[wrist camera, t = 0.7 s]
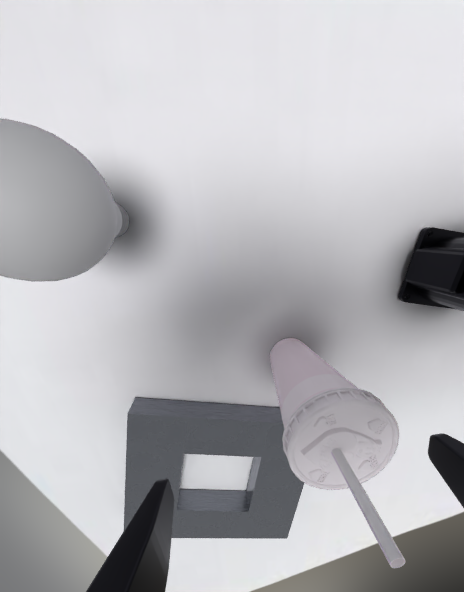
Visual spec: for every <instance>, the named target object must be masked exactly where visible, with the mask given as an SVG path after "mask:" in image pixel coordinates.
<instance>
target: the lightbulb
mask: <svg viewBox="0 0 464 592" xmlns="http://www.w3.org/2000/svg"><path fill="white" fill-rule="evenodd" d="M128 226H129V217H128V214H127V212H126V211H125V209H124V208H123V207H122V206H121V205H119V204H118V203H116V202H114V199H113V196H112V193H111V191H110V189H109V187H108V185H107V183H106V181H105V180H104V178H103V177H102V176H101V174H100V173H99V172H98V171H97V169H96V168H95V167H94V166H93V164H92V163H91V162H90V161H89V160H88V159H87V158H86V157H85V156H84V155H83V154H82V153H81V152H79V151H78V150H77V149H76V148H74V147H73V146H71V145H70V144H68V143H67V142H65V141H64V140H62V139H61V138H59V137H57V136H56V135H54V134H52V133H50V132H48V131H45V130H43V129H41V128H38V127H36V126H33V125H29V124H26V123H22V122H18V121H13V120H9V119H0V275H1V276H4V277H7V278H13V279H19V280H26V281H58V280H62V279H67V278H71V277H74V276H77V275H79V274H81V273H84V272H86V271H88V270H89V269H90V268H92V267H93V266H94V265H96V264H97V263H98V262H99V261H100V260H102V258H103V257H104V256H105V255H106V254H107V252H108V251H109V250H110V248H111V246H112V244H113V242H114V238H115V237H118V236H121V235H123V234H124V233H125V232H126V231H127V229H128Z"/></svg>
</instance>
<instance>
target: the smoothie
mask: <svg viewBox="0 0 464 592" xmlns="http://www.w3.org/2000/svg"><path fill="white" fill-rule="evenodd" d="M270 363H271V367H272V372H273V377H274V382H275V387H276V391H277V396H278V401H279V406H280V411H281V415H282V421H283V425H284V433H283V437H282V441H283V450H284V452H285V454H286V456H287V459H288V462H289V465H290V468H291V470H292V471H293V473H294V474H295V475H296V476H297V477H298V478H299V479H300V480H301V481H303V482H304V483H306V484H308V485H310V486H313V487H316V488H319V489H326V490H339V489H345V488H350V490H351V492H352V494H353V496H354V498H355V500H356V501H357V503H358V505H359V507H360V509H361V511H362V513H363V515H364V517H365V518H366V520H367V522H368V524H369V526H370V528H371V530H372V532H373V534H374V536H375V537H376V539H377V541H378V543H379V545H380V547H381V549H382V551H383V553H384V554H385V556H386V558H387V560H388V562H389V564H390V566H391V567H392V568H399V567H401V566H403V565H404V564H405V559H404V557H403V556H402V554H401V552H400V551H399V549H398V547H397V545H396V544H395V542H394V540H393V539H392V537H391V535H390V533H389V532H388V530H387V528H386V526H385V525H384V523H383V521H382V520H381V518H380V516H379V514H378V513H377V511H376V509H375V507H374V506H373V504H372V502H371V501H370V499H369V497H368V495H367V494H366V492H365V490H364V489H363V487H362V485H361V483H363V482H365V481H367V480H369V479H371V478H372V477H374V476H375V475H377V474H378V473H379V472H380V471H381V470H382V469H384V468H385V466H386V465H387V464H388V463H389V462H390V460H391V459H392V457H393V455H394V454H395V451H396V449H397V446H398V441H399V428H398V424H397V421H396V419H395V418H394V416H393V415H392V414H391V412H390V411H389V410H388V409H387V408H386V407H385V406H384V404H383V403H382V402H381V400H380V399H378V398H377V397H376V396H374V395H373V394H371V393H370V392H367V391H364V390H361V389H358V388H357V387H356V386H355V385H353V384H352V383H351V382H350V381H349V380H347V379H346V378H345V377H344V376H342V375H341V374H340V373H339V372H338V371H336V370H335V369H334V368H333V367H332V366H330V365H329V364H328V363H327V362H326V361H324V360H323V359H322V358H321V357H320V356H318V355H317V354H316V353H315V352H314V351H312V350H311V349H310V348H309V347H308V346H306V345H305V344H304V343H303V342H302V341H300V340H298V339H295V338H286V339H283V340H281V341H279V342H277V343H276V344H275V345H274V346H273V348H272V350H271V352H270Z"/></svg>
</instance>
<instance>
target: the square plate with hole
mask: <svg viewBox="0 0 464 592" xmlns="http://www.w3.org/2000/svg"><path fill="white" fill-rule="evenodd" d="M283 433H284V425H283V421H282V415H281V411H280V408H278V407H264V406H250V405H236V404H222V403H208V402H193V401H179V400H165V399H151V398H137V397H136V398H135V400H134V402H133V404H132V406H131V408H130V410H129V412H128V420H127V450H126V481H125V511H124V530H125V529H126V527H127V526H128V524H129V522H130V521H131V519H132V518H133V516H134V514H135V513H136V511H137V510H138V508H139V506H140V505H141V503H142V502H143V500H144V498H145V497H146V495H147V494H148V492H149V490H150V489H151V487H152V486H153V484H154V483H155V481H157V480H160V479H166V478H167V479H169V481H170V484H171V488H172V491H173V494H174V512H173V524H172V535H171V538H287V537H288V534H289V530H290V527H291V524H292V521H293V518H294V514H295V511H296V508H297V505H298V501H299V498H300V495H301V492H302V489H303V485H304V482H303V481H301V480H300V479H299V478H298V477H297V476H296V475H295V474H294V473H293V471H292V470H291V468H290V465H289V462H288V459H287V456H286V454H285V452H284V450H283V441H282V437H283ZM184 454H205V455H227V456H249V457H254V458H253V463H252V467H251V472H250V476H249V481H248V485H247V490H246V491H228V490H193V489H180V483H181V474H182V466H183V457H184Z"/></svg>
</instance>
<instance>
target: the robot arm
mask: <svg viewBox="0 0 464 592" xmlns="http://www.w3.org/2000/svg"><path fill="white" fill-rule="evenodd" d="M428 232H429V235H427V234H428ZM405 295H406V297H405ZM398 298H399V300H401V301H403V302H408V303H415V304H423V305H430V306H438V307H445V308H453V309H458V310H461V311H464V233H461V232H455V231H449V230H444V229H438V228H424V229H423V230H422V231H421V233H420V236H419V239H418V242H417V245H416V247H415V250H414V253H413V256H412V259H411V262H410V264H409V267H408V270H407V273H406V276H405V279H404V281H403V284H402V287H401V290H400V293H399V296H398ZM428 455H429V458H430V460H431V462H432V463H433V464H434V466H435V467H436V469H437V470H438V472H439V473H440V475H441V476H442V477H443V479H444V480H445V482H446V483H447V485H448V486H449V488H450V489H451V490H452V492H453V493H454V495H455V496H456V498H457V499H458V501H459V502H460V503H461V505H462V506H463V508H464V443H462V442H460V441H458V440H456V439H454V438H452V437H450V436H448V435H446V434H435V435H431V436H430V441H429V448H428ZM173 512H174V494H173V491H172V488H171V484H170V481H169V479H167V478H166V479H160V480H157V481H155V483H154V484H153V486H152V487H151V489H150V490H149V492H148V494H147V495H146V497H145V498H144V500H143V502H142V503H141V505H140V506H139V508H138V510H137V511H136V513H135V514H134V516H133V518H132V519H131V521H130V522H129V524H128V526H127V527H126V529H125V530H124V532H123V534H122V535H121V537H120V538H119V540H118V542H117V543H116V545H115V546H114V548H113V549H112V551H111V553H110V554H109V556H108V557H107V559H106V561H105V562H104V564H103V565H102V567H101V569H100V570H99V572H98V574H97V575H96V577H95V578H94V580H93V581H92V583H91V585H90V586H89V588H88V590H87V591H86V592H165V588H166V582H167V576H168V569H169V559H170V547H171V535H172V524H173Z"/></svg>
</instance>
